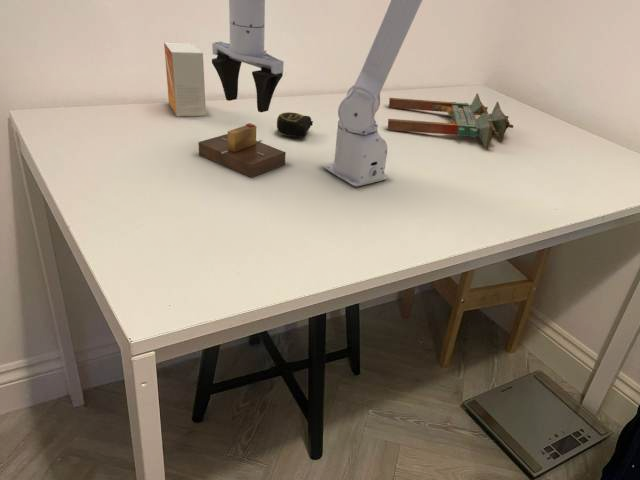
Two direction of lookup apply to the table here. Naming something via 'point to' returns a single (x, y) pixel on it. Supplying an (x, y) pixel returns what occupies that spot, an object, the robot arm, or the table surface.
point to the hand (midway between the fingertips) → (247, 105)
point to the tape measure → (293, 124)
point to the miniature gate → (454, 119)
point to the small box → (185, 78)
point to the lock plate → (242, 156)
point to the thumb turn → (242, 137)
